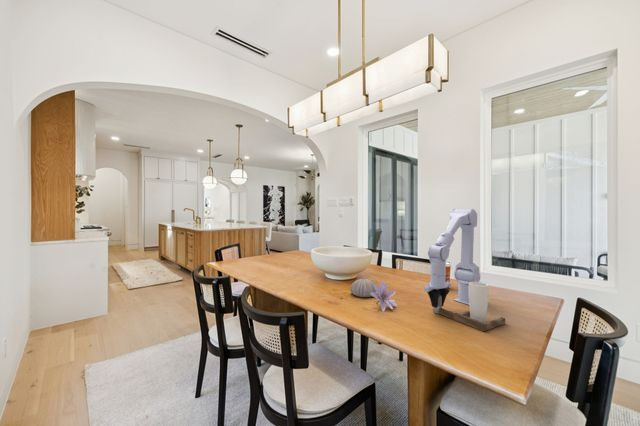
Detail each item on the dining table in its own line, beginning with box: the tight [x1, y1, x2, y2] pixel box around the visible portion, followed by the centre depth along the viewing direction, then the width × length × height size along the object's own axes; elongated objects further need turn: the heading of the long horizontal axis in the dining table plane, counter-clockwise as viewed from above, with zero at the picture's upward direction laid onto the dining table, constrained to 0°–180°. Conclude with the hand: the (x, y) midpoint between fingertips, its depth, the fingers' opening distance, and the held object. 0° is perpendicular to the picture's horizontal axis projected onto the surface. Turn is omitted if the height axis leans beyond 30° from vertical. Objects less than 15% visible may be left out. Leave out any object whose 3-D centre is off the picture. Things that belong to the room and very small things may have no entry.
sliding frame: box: [432, 295, 506, 333], centre depth 109 cm, size 15×22×7 cm
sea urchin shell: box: [349, 278, 377, 298], centre depth 138 cm, size 13×14×8 cm
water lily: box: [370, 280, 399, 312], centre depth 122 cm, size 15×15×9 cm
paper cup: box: [445, 261, 452, 290], centre depth 151 cm, size 8×8×14 cm
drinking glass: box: [468, 281, 490, 323], centre depth 104 cm, size 7×7×15 cm
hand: (437, 306), depth 114 cm, fingers closed on sliding frame, 3 cm apart
